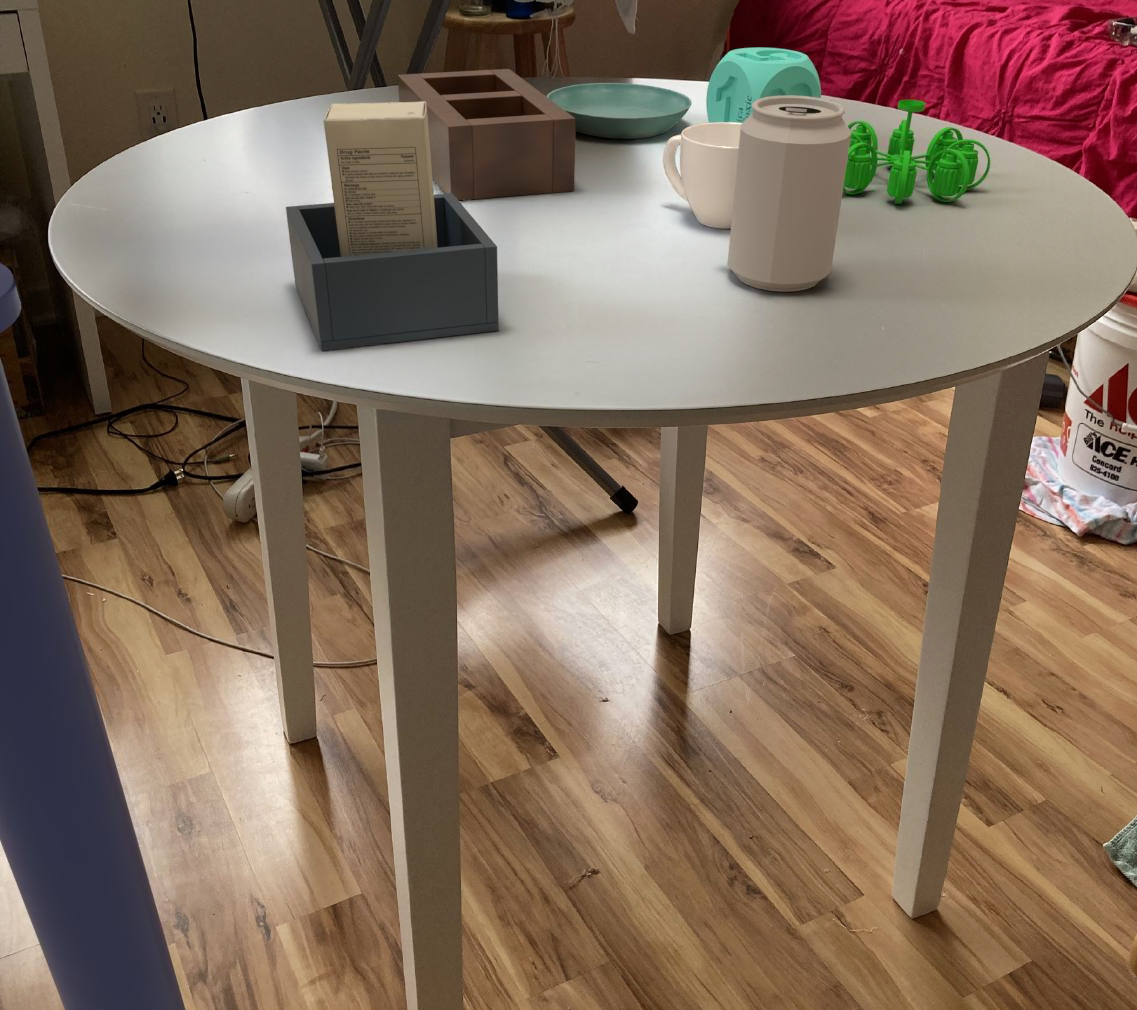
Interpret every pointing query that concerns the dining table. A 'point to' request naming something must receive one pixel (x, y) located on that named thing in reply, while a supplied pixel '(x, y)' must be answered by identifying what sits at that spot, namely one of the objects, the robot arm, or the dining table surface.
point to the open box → (394, 281)
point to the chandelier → (941, 157)
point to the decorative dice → (757, 81)
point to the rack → (493, 134)
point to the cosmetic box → (381, 177)
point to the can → (788, 192)
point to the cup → (706, 170)
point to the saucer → (621, 109)
